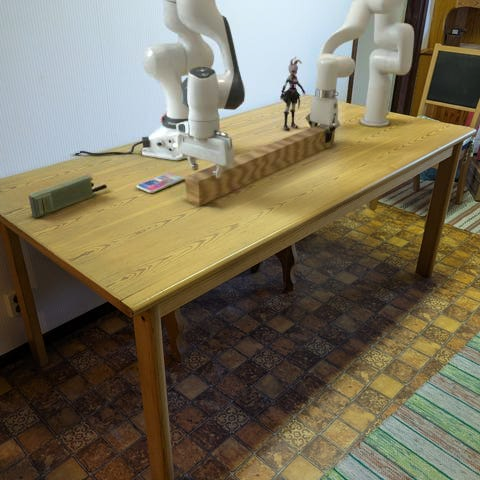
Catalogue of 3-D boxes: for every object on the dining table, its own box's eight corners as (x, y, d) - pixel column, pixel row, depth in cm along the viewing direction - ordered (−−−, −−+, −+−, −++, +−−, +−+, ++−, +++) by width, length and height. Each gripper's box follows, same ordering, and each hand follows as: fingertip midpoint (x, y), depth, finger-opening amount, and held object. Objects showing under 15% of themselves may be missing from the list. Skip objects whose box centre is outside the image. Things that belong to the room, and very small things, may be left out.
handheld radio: (30, 215, 144) (102, 188, 161) (37, 219, 142) (109, 191, 159) (26, 193, 140) (100, 168, 157) (33, 197, 138) (107, 171, 155)
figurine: (282, 133, 213) (286, 58, 198) (272, 129, 216) (275, 56, 202) (305, 126, 221) (311, 54, 206) (295, 123, 225) (300, 52, 210)
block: (199, 206, 151) (198, 181, 147) (186, 200, 154) (185, 176, 150) (333, 145, 201) (335, 125, 197) (321, 142, 204) (323, 122, 200)
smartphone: (184, 177, 167) (150, 191, 157) (184, 180, 167) (151, 194, 157) (168, 171, 171) (134, 185, 161) (168, 174, 171) (135, 188, 161)
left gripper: (239, 132, 141) (239, 178, 147) (187, 119, 152) (189, 163, 159) (223, 137, 136) (224, 184, 143) (171, 123, 148) (174, 168, 155)
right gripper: (350, 95, 186) (345, 142, 195) (311, 88, 196) (308, 133, 205) (340, 99, 181) (334, 147, 190) (300, 91, 191) (297, 137, 200)
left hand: (205, 173), depth 151 cm, fingers open, 8 cm apart
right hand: (321, 139), depth 197 cm, fingers closed on block, 5 cm apart
